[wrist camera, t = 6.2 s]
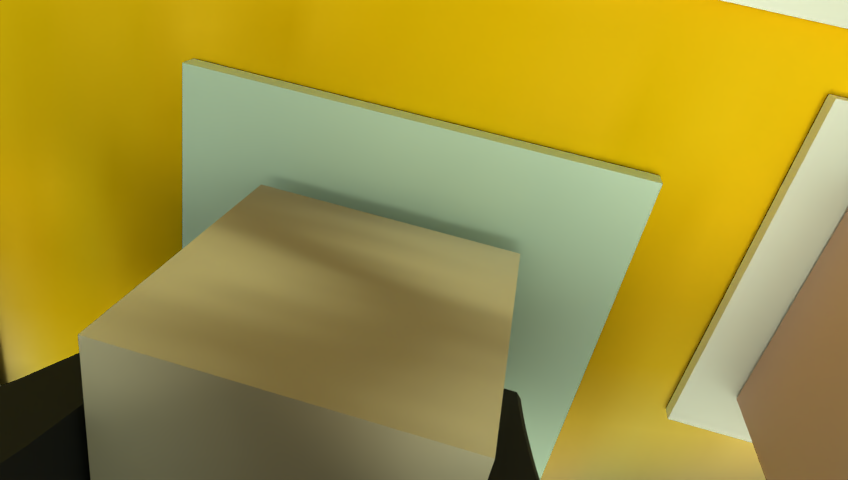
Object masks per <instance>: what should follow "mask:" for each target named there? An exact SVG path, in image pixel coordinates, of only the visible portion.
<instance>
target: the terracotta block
mask: <svg viewBox="0 0 848 480" xmlns="http://www.w3.org/2000/svg"><path fill="white" fill-rule="evenodd" d="M737 402H738V405H739V407H740V410H741V413H742V416H743V418H744V421H745V424H746V426H747V429H748V432H749V435H750V437H751V440H752V443H753V445H754V448H755V451H756V454H757V456H758V459H759V462H760V465H761V467H762V470H763V473H764V475H765V478H766V480H848V209H847V211H846V213H845V215H844V216H843V218H842V220H841V221H840V223H839V225H838V227H837V228H836V230H835V232H834V233H833V235H832V237H831V238H830V240H829V242H828V244H827V245H826V247H825V249H824V250H823V252H822V254H821V255H820V257H819V259H818V261H817V262H816V264H815V266H814V267H813V269H812V271H811V273H810V274H809V276H808V278H807V279H806V281H805V283H804V284H803V286H802V288H801V290H800V291H799V293H798V295H797V296H796V298H795V300H794V302H793V303H792V305H791V307H790V308H789V310H788V312H787V313H786V315H785V317H784V319H783V320H782V322H781V324H780V325H779V327H778V329H777V331H776V332H775V334H774V336H773V337H772V339H771V341H770V342H769V344H768V346H767V348H766V349H765V351H764V353H763V354H762V356H761V358H760V360H759V361H758V363H757V365H756V366H755V368H754V370H753V371H752V373H751V375H750V377H749V378H748V380H747V382H746V383H745V385H744V387H743V389H742V390H741V392H740V394H739V395H738V397H737Z"/></svg>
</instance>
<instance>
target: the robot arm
mask: <svg viewBox="0 0 848 480" xmlns="http://www.w3.org/2000/svg"><path fill="white" fill-rule="evenodd" d="M0 480H90V469H89V457H88V445H87V434H86V422H85V411H84V399H83V388H82V376H81V364H80V353H78V354H75V355H73V356H71V357H69V358H66V359H64V360H62V361H59V362H57V363H55V364H52V365H50V366H48V367H46V368H43V369H41V370H39V371H36V372H34V373H32V374H30V375H27V376H25V377H23V378H20V379H18V380H15V381H13V382H10V383H8V384H5V385H3V386H0ZM488 480H540V479H539V476H538V472H537V469H536V465H535V462H534V458H533V455H532V451H531V447H530V443H529V439H528V435H527V430H526V426H525V421H524V416H523V410H522V404H521V398H520V397H519V395H518V393H517V392H515V391H512V390H508V389H505V388H504V390H503V398H502V406H501V414H500V422H499V430H498V438H497V446H496V455H495V460H494V463H493V466H492V469H491V472H490V474H489V477H488Z"/></svg>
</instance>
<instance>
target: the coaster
mask: <svg viewBox="0 0 848 480" xmlns="http://www.w3.org/2000/svg"><path fill="white" fill-rule="evenodd" d="M662 184H663V183H662V180H661V178H660V176H659V175H655V174H652V173H648V172H644V171H640V170H636V169H632V168H628V167H624V166H620V165H616V164H612V163H608V162H604V161H600V160H596V159H592V158H588V157H584V156H580V155H576V154H572V153H568V152H564V151H560V150H556V149H552V148H548V147H544V146H540V145H536V144H532V143H528V142H524V141H520V140H516V139H512V138H508V137H504V136H500V135H496V134H492V133H488V132H484V131H480V130H476V129H472V128H468V127H464V126H460V125H456V124H452V123H448V122H444V121H440V120H436V119H432V118H428V117H424V116H420V115H416V114H412V113H408V112H404V111H400V110H396V109H392V108H388V107H385V106H381V105H377V104H373V103H369V102H365V101H361V100H357V99H353V98H349V97H345V96H341V95H337V94H333V93H329V92H325V91H321V90H317V89H313V88H309V87H305V86H301V85H297V84H293V83H289V82H285V81H281V80H277V79H273V78H269V77H265V76H261V75H257V74H253V73H249V72H245V71H241V70H237V69H233V68H229V67H225V66H221V65H217V64H213V63H209V62H205V61H201V60H197V59H191V60H188V61H186V62H183V63H182V249H183V248H184V247H185V246H187V245H188V244H189V243H190V242H191V241H193V240H194V239H195V238H196V237H198V236H199V235H200V234H201V233H202V232H204V231H205V230H206V229H207V228H209V227H210V226H211V225H212V224H213V223H215V222H216V221H217V220H218V219H220V218H221V217H222V216H223V215H224V214H226V213H227V212H228V211H229V210H230V209H232V208H233V207H234V206H235V205H237V204H238V203H239V202H240V201H241V200H243V199H244V198H245V197H246V196H248V195H249V194H250V193H251V192H252V191H254V190H255V189H256V188H257V187H259V186H260V185H265V186H269V187H273V188H276V189H280V190H284V191H288V192H291V193H295V194H299V195H303V196H306V197H310V198H314V199H318V200H321V201H325V202H329V203H333V204H336V205H340V206H344V207H347V208H351V209H355V210H359V211H362V212H366V213H370V214H374V215H377V216H381V217H385V218H389V219H392V220H396V221H400V222H404V223H407V224H411V225H415V226H419V227H422V228H426V229H430V230H433V231H437V232H441V233H445V234H448V235H452V236H456V237H460V238H463V239H467V240H471V241H475V242H478V243H482V244H486V245H490V246H493V247H497V248H501V249H505V250H508V251H512V252H516V253H519V254H520V261H519V269H518V277H517V285H516V293H515V301H514V309H513V317H512V325H511V334H510V342H509V350H508V358H507V366H506V374H505V382H504V388H505V389H508V390H512V391H515V392H517V393H518V395H519V397H520V398H521V404H522V410H523V416H524V421H525V426H526V430H527V435H528V439H529V443H530V447H531V451H532V455H533V458H534V462H535V465H536V469H537V472H538V476H539V479H541V476H542V474H543V472H544V469H545V467H546V464H547V462H548V459H549V457H550V455H551V452H552V450H553V447H554V445H555V443H556V440H557V438H558V435H559V433H560V430H561V428H562V426H563V423H564V421H565V418H566V416H567V414H568V411H569V409H570V406H571V404H572V401H573V399H574V397H575V394H576V392H577V389H578V387H579V385H580V382H581V380H582V377H583V375H584V373H585V370H586V368H587V365H588V363H589V360H590V358H591V356H592V353H593V351H594V348H595V346H596V344H597V341H598V339H599V336H600V334H601V331H602V329H603V327H604V324H605V322H606V319H607V317H608V315H609V312H610V310H611V307H612V305H613V302H614V300H615V298H616V295H617V293H618V290H619V288H620V286H621V283H622V281H623V278H624V276H625V274H626V271H627V269H628V266H629V264H630V261H631V259H632V257H633V254H634V252H635V249H636V247H637V245H638V242H639V240H640V237H641V235H642V232H643V230H644V228H645V225H646V223H647V220H648V218H649V216H650V213H651V211H652V208H653V206H654V203H655V201H656V199H657V196H658V194H659V191H660V189H661V187H662Z"/></svg>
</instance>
